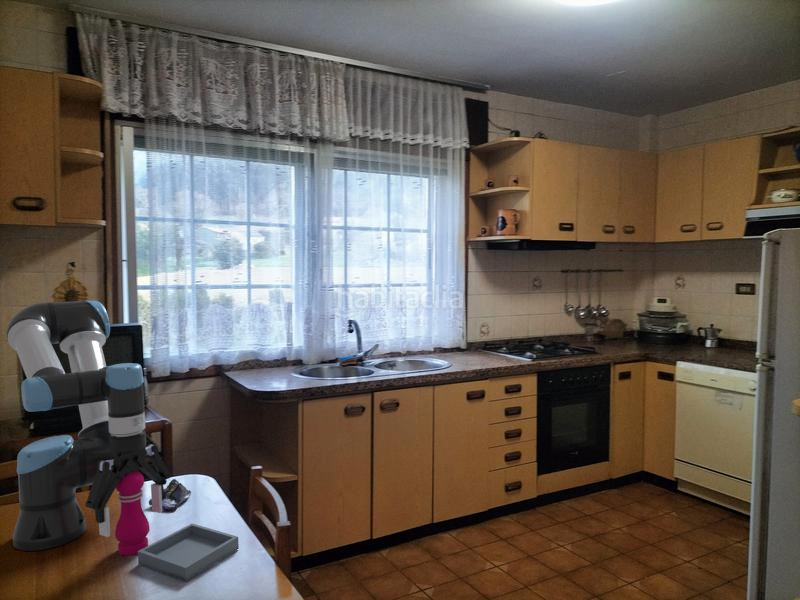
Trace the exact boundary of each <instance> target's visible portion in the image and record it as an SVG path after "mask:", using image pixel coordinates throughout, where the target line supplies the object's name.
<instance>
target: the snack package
mask: <svg viewBox="0 0 800 600" xmlns="http://www.w3.org/2000/svg"><path fill="white" fill-rule="evenodd" d="M191 494H192V491H191V490H190V489H189V490H188V488H187V487H185V485H183V483H182V482H179V481H178V480H177V479H176V478H173V479H171V480H170V482H169V484H168V485H166V487H165V488H164V495H163V496H162V511H164V512H169V511H170V512H175V511H176V510H177V509H178V506H180V505H181V504H182V503H183V502H184V501H185V500H186V499H187V497H188V498H190V496H191ZM148 505H149V506H152V498H150V499H149V501H148Z"/></svg>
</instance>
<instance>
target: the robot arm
mask: <svg viewBox="0 0 800 600" xmlns="http://www.w3.org/2000/svg"><path fill="white" fill-rule="evenodd" d="M110 332H111V325H110V319H109V315H108V311H107V310H106V307H105V305H103V304H102V303H101V302H99V301H98V300H86V299H81V300H78V301H77V300H76V301H60V302H59V301H58V302H57V301H56V302H55V301H54V302H53V301H52V302H38V303H34V304H31V305H28V306H27V307H25V308H23V309H21V310H19V311H18V312H17V313H16V314H15V315H14V316H13V317H12V318H11V319H10V321H9V323H8V325H7V328H6V339H7V342H8V344H9V346H10V347H11V348H12V349H13V350H15V351H16V353H17V356H18V359H19V361H20V364H21V366H22V367H21V368H22V369H23V372H24V374H25V377H26V379H24V380H22V382H21V387H20V389H21V391H20V392H21V399H22V406H23V408H24V410H25V411H27V412H31V413H32V412H41V411H42V412H46V411H49V410H55V409H56V410H57V409H62V408H68V407H72V406H78V410H79V415H80V420H81V424H82V429H81V430H80V431H78V435H77V439H75V440H74V438H73V437H72V436H71V435H69V434H61V435H53V436H49V437H45V438H43V439H39V440H35V441H33V442H31V443H29V444H28V445H26V446H24V447H23V448H22V449H20V451H19V453H18V454H17V456H16V458H17V459H16V460H17V461H16V462H17V463H16V465H17V467H16V473H17V476H18V477H17V479H18V480H17V481H18V497H19V498H18V499H19V500H18V501H19V512H18V517H17V520H16V523H15V527H14V530H13V534H12V544H13V545H12V546H13V547H14V548H15V549H17V550H20V551H27V552H29V551H30V552H32V551H33V552H34V551H36V552H37V551H42V550H47V549H53V548H56V547H60V546H63V545H65V544H69V543H70V542H72V541H74V540H76V539H78V538H79V537H80V536H82V535H83V534H84V533H85V531H86V530H87V528H86V518H85V515H84V513H83V511H82V509H81V507H80V505H79V502H78V500H77V496H76V493H77V492H76V490H77V489H79V488H82V487H88V486H91V488H90V490H89V493H88V496H87V499H86V502H85V504H84V505H85V508H89V509H92V510H94V515H95V522H96V523H97V524H98V530H99V535H100V536H103V537H106V538H109V537H111V522H110V506H107V504H108V503H109V500H110V498H111V497H112V495H113V493H114V492H115V489H116V486H117V485H118V483H119V481H120V480H121V479H122V478H123V477H124V475H128V474H130V473H131V472H135V471H139V470H140V471H141V473H142V472H143V473H142V474H145V476H147V477H148V478H149V479H150V480H151V481H152V482H154V483H151V484H150V494H151V496H150V497H151V499H152V505H151V511H152V512H156V513H162V512H163V510H162V496H163V495H164V489H165V488H164V485H166V484H167V482H168V481H167V480H168V479H170V478H171V473H170V471H169V470H168V468H167V466H166V465H165V463H164V461H163V459H162V457H161V456H160V454H159V448H158V447H159V446H158V445H155V444H147V433H146V431H145V429H146V413H145V391H144V388H145V387H144V382H145V378H144V376H143V373H144V372H143V368H142V366H141V364H139V363H132V362H126V363H125V362H123V363H117V364H116V363H115V364H112V365H107V364H106V360H105V355H104V351H103V346H105V344H106V341H107V339H108V338H109V336H110V335H111V334H110ZM53 344H59V349H60V351H61V352H63V353H64V354H67V356H68V362H69V366H70V373H69V372H68V373H66V372H65V370H64V368H63V365H62V363H61V362H60V361H61V360H60V359H59V357H58V355H57V353H56V351H55V349H54V347H53ZM146 456H148V458H149V460H150V461H151V464H152V465H153V467H154V468H155V470H154V468H153V467H151V466H150V464H149V463H148V462H147V461H146V460H145V459H146Z"/></svg>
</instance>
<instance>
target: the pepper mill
mask: <svg viewBox="0 0 800 600" xmlns="http://www.w3.org/2000/svg"><path fill="white" fill-rule="evenodd" d="M144 485H145V478H144V475H143V473H142V472H140V471H139V470H138V471H135V472H131V473H130V474H128V475H124V477H123V478H122V479H121V480H120V481H119V483H118V485H117V486H116V488H115V489H116V491H117V492H118V501H119V502H120V514H119V517H118V519H117V520H118V521H117V523H116V526H115V529H114V532H115V533H114V536H115V539H116V540H117V541H118V542H119V543H118V544H117V546H118V549H117V551H118V554H119V555H121V556H124V557H125V556H127V557H128V556H134V555H138V551H139V550H141V549H143V548H145V547H147V546H149V539H148V537H147V536H148V534H149V533H150V522H149V520H148V517H147V516H146V514H145V512H144V510H143V507H142V501H141V498H142V497H143V496H144V495H143V489H142V488H143V486H144Z"/></svg>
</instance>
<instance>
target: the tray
mask: <svg viewBox="0 0 800 600" xmlns="http://www.w3.org/2000/svg"><path fill="white" fill-rule="evenodd" d="M239 545H240V544H239V536H237V535H233V534H231V533H226V532H224V531H221V530H216V529H213V528H210V527H205V526H202V525H199V524H196V523H190V524H188V525H186V526H184V527H182V528H180V529H178V530H177V531H174V532H173V533H171V534H169V535H166V536H164V537H163V538H161V539H158V540H157V541H155V542H153V543H151V544H148V546H147V547H145V548H143V549H141V550H139V551H138V554H137V561H138V565H139V566H140V567H144V568H147V569H150V570H153V571H155V572H158V573H161V574H164V575H167V576H169V577H172V578H175V579H177V580H180V581H182V582H186V583H187V582H188V581H190V580H192V579H194V578H195V577H197V576H198V575H200V574H202V573H203V572H205V571H206V570H209V567H210V568H212V567H213V566H215V565H216V564H217V562H218V563H219V562H221V561H222V560H224V559H226V558H227V557H229V556H230V554H231V555H232V554H234V553H235V552H237V551H238V550H237V549H240V548H239ZM236 550H237V551H236ZM234 551H235V552H234ZM233 552H234V553H233ZM228 555H229V556H228ZM225 557H226V558H225ZM215 563H216V564H215Z"/></svg>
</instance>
